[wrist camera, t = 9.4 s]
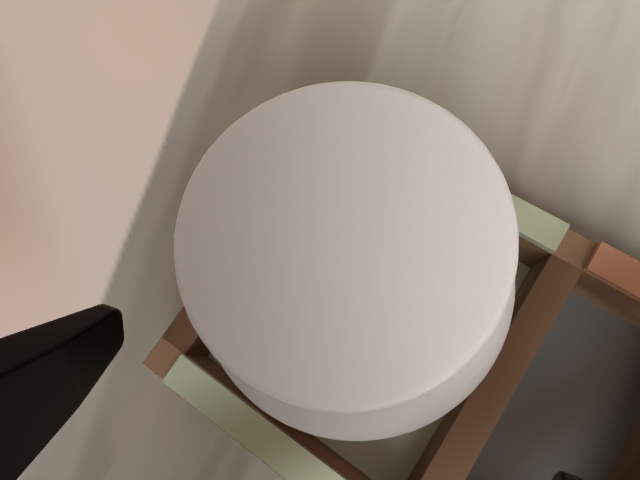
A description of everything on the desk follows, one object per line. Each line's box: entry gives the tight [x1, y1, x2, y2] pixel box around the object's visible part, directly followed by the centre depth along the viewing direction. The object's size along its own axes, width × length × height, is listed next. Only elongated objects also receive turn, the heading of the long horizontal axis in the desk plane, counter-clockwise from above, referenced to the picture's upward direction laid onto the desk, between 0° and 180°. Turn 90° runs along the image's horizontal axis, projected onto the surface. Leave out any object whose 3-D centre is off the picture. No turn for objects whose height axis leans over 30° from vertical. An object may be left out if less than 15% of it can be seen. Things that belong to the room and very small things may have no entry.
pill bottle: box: [173, 81, 519, 441], centre depth 11 cm, size 6×6×11 cm
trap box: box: [143, 194, 640, 480], centre depth 14 cm, size 24×11×3 cm, turn 56°
